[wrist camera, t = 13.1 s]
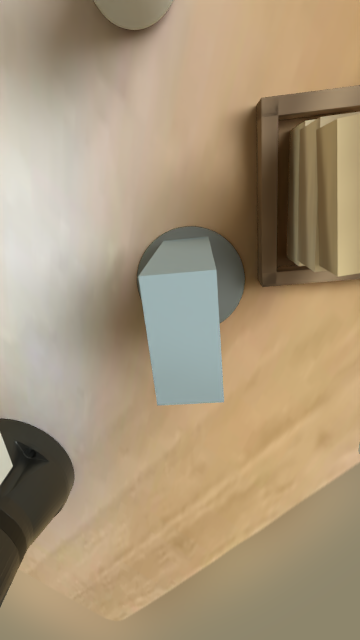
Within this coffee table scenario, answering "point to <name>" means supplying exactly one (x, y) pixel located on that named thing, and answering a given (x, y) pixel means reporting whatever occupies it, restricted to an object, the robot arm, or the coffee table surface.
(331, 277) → the rack
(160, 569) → the coffee table surface
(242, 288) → the coaster
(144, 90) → the coffee table surface
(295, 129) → the offcut
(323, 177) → the offcut
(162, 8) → the beverage can
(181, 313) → the light blue block
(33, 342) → the coffee table surface
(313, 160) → the offcut
